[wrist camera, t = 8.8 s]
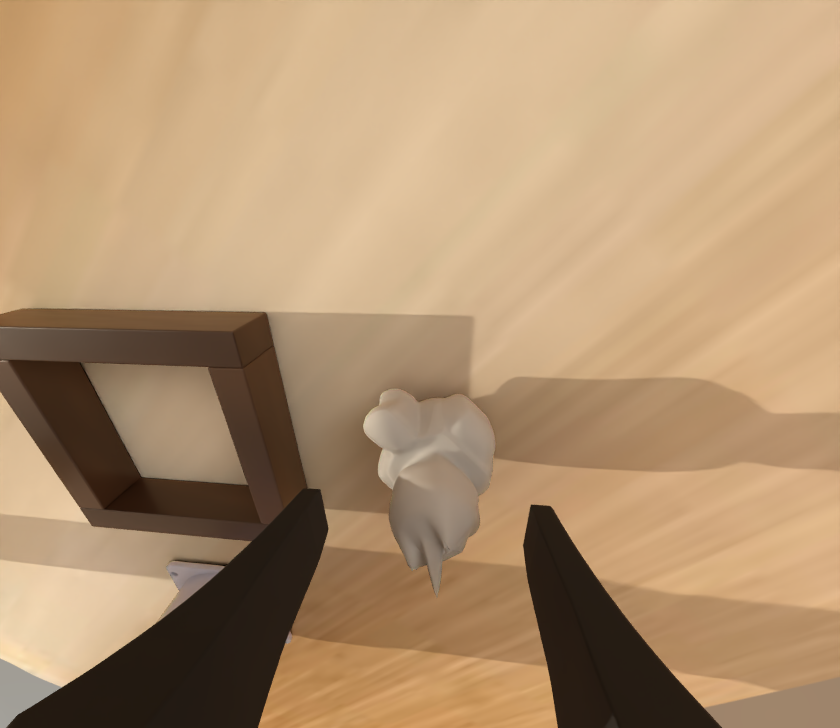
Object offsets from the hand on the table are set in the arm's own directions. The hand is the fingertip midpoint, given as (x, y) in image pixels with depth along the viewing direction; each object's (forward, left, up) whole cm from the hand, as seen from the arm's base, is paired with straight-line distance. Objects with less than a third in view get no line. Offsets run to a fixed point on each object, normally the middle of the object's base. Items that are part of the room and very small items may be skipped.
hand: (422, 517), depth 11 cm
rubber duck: (0, 0, -6) cm, 6 cm away
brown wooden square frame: (-1, +14, -6) cm, 15 cm away
